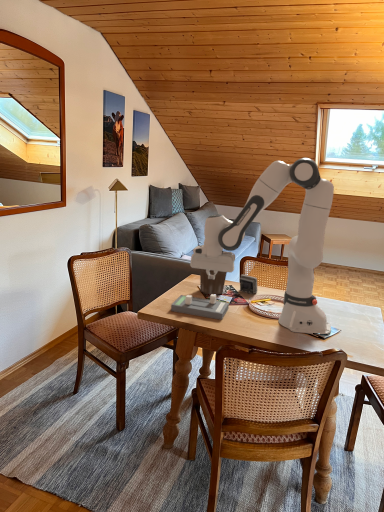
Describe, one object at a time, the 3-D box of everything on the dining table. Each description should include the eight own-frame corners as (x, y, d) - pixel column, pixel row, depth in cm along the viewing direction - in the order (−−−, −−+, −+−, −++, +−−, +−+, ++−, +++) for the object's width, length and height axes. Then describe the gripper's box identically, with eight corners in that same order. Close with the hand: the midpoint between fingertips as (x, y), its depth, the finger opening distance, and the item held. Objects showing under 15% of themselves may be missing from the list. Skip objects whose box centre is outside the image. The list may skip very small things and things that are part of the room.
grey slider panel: (228, 308, 187) (228, 302, 186) (221, 319, 174) (222, 313, 173) (180, 300, 193) (180, 294, 192) (170, 310, 180) (171, 304, 179)
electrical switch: (257, 292, 212) (258, 276, 208) (253, 296, 207) (254, 280, 204) (241, 288, 216) (242, 273, 213) (237, 292, 212) (238, 276, 209)
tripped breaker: (215, 302, 185) (216, 294, 184) (214, 303, 183) (215, 296, 182) (210, 301, 186) (211, 294, 185) (209, 303, 183) (210, 295, 182)
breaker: (191, 302, 182) (192, 295, 181) (190, 304, 180) (190, 297, 179) (186, 302, 183) (187, 294, 182) (185, 303, 180) (185, 296, 179)
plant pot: (224, 287, 217) (227, 258, 213) (229, 297, 202) (232, 267, 198) (195, 285, 216) (197, 257, 212) (197, 296, 201) (199, 266, 196)
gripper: (236, 250, 178) (234, 279, 182) (193, 246, 184) (192, 274, 187) (234, 254, 172) (232, 283, 176) (189, 249, 178) (188, 278, 181)
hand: (211, 278), depth 182 cm, fingers closed
